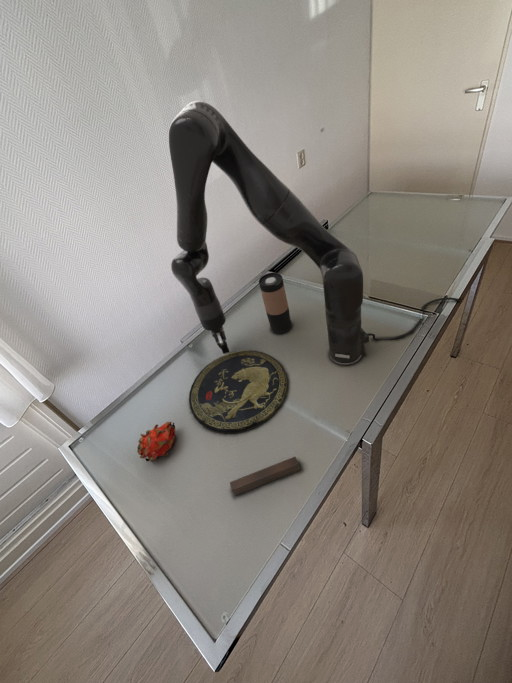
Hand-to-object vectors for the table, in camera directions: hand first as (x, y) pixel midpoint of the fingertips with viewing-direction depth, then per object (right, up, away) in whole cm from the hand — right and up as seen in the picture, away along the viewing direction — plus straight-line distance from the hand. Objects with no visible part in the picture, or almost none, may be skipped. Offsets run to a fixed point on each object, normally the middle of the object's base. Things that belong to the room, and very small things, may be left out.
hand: (226, 351), depth 107 cm
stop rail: (+13, -29, -33) cm, 46 cm away
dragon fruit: (-15, -25, -20) cm, 36 cm away
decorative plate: (+5, -11, -11) cm, 17 cm away
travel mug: (+19, +8, +5) cm, 21 cm away
